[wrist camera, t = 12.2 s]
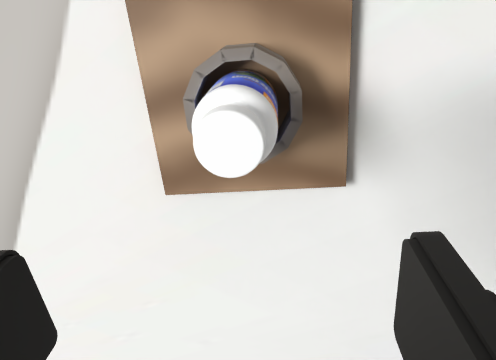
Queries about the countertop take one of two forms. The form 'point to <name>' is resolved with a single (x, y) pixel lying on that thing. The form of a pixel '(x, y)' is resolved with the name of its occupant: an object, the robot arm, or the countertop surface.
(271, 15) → the base
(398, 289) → the robot arm
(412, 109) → the countertop surface
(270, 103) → the pill bottle
